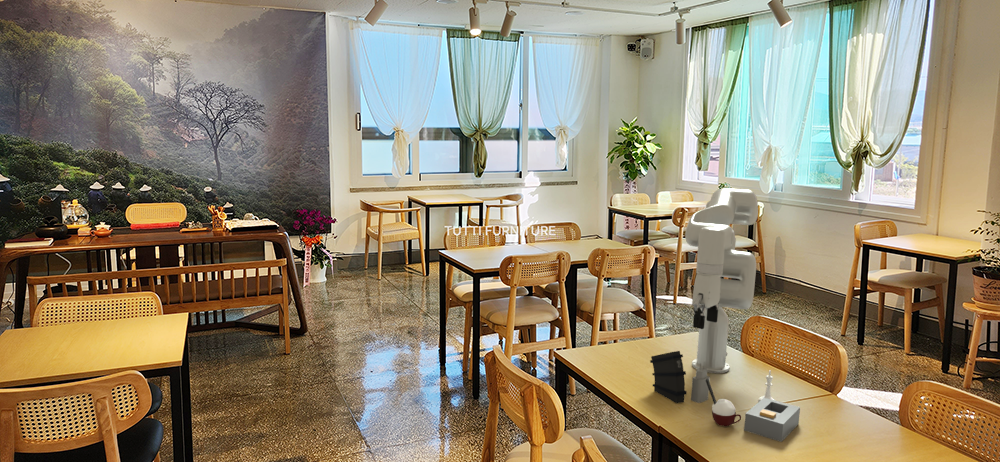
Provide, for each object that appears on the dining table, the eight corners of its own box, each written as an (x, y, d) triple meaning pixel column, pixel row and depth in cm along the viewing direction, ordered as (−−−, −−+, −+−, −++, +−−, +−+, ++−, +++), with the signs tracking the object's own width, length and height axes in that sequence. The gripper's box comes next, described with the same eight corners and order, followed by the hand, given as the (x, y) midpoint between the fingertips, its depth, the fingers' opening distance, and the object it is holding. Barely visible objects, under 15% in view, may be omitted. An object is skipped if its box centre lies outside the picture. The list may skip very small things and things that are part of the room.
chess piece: (775, 400, 206) (778, 369, 204) (776, 406, 201) (779, 374, 200) (758, 397, 208) (761, 366, 206) (758, 403, 203) (761, 372, 201)
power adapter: (709, 399, 205) (712, 361, 203) (698, 403, 202) (701, 365, 200) (700, 395, 208) (703, 358, 206) (689, 399, 204) (692, 362, 202)
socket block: (762, 413, 196) (764, 394, 195) (798, 423, 189) (800, 404, 188) (743, 430, 184) (745, 410, 183) (781, 441, 178) (783, 421, 177)
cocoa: (743, 426, 186) (746, 385, 185) (729, 432, 183) (733, 390, 181) (713, 414, 194) (716, 374, 192) (700, 419, 190) (703, 379, 188)
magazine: (683, 403, 198) (671, 351, 201) (656, 405, 209) (645, 357, 213) (693, 401, 199) (681, 350, 203) (665, 404, 211) (655, 356, 214)
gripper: (709, 263, 207) (704, 316, 210) (685, 270, 194) (680, 327, 197) (733, 266, 203) (728, 321, 205) (710, 274, 189) (705, 333, 192)
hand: (705, 324), depth 201 cm, fingers open, 9 cm apart
